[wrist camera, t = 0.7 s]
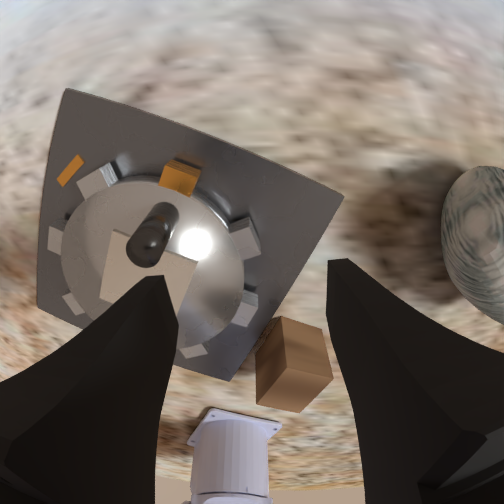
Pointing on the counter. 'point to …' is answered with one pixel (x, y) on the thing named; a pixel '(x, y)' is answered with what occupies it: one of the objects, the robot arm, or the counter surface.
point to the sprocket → (157, 250)
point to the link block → (291, 366)
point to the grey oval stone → (476, 238)
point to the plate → (209, 184)
